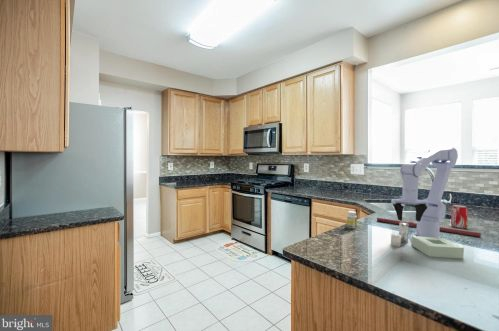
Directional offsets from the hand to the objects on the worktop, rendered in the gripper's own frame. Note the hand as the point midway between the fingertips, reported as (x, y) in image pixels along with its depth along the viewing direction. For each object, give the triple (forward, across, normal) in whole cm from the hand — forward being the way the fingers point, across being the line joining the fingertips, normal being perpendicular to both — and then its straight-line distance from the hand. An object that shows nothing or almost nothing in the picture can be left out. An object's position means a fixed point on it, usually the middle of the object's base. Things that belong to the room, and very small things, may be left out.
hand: (408, 220), depth 107 cm
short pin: (+10, -7, -4) cm, 13 cm away
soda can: (+10, +43, +32) cm, 55 cm away
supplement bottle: (+10, -18, +21) cm, 29 cm away
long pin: (+10, -1, +2) cm, 10 cm away
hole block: (+10, +6, -9) cm, 15 cm away
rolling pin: (+10, +21, +26) cm, 35 cm away
